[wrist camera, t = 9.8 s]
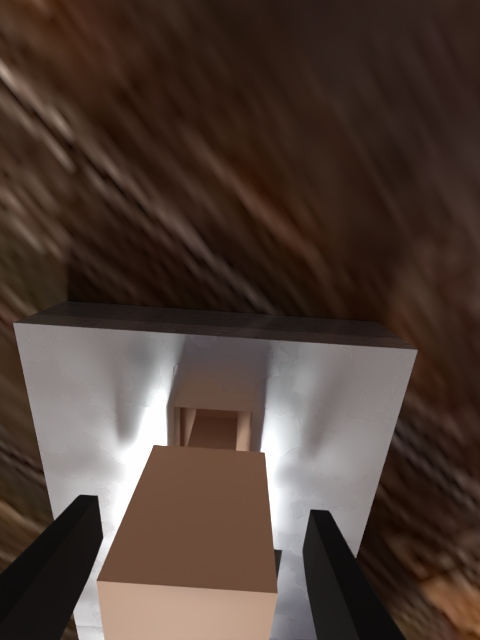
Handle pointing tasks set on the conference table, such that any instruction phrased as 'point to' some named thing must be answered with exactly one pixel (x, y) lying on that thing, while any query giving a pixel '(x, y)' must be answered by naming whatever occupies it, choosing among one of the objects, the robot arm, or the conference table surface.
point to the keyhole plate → (217, 394)
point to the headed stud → (194, 540)
